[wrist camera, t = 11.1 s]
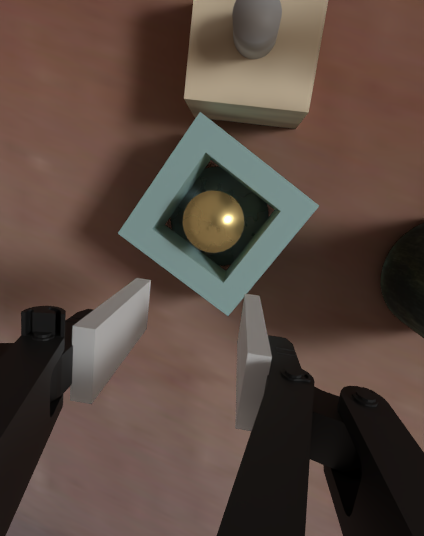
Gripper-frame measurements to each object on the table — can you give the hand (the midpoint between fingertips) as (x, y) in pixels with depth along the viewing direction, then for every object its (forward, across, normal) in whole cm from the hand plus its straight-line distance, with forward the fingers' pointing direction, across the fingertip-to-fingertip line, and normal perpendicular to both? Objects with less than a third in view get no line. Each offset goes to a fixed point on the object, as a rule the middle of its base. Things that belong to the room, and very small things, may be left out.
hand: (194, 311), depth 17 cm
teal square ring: (+11, 0, +4) cm, 12 cm away
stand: (+13, +1, +16) cm, 21 cm away
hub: (+13, 0, +4) cm, 13 cm away
